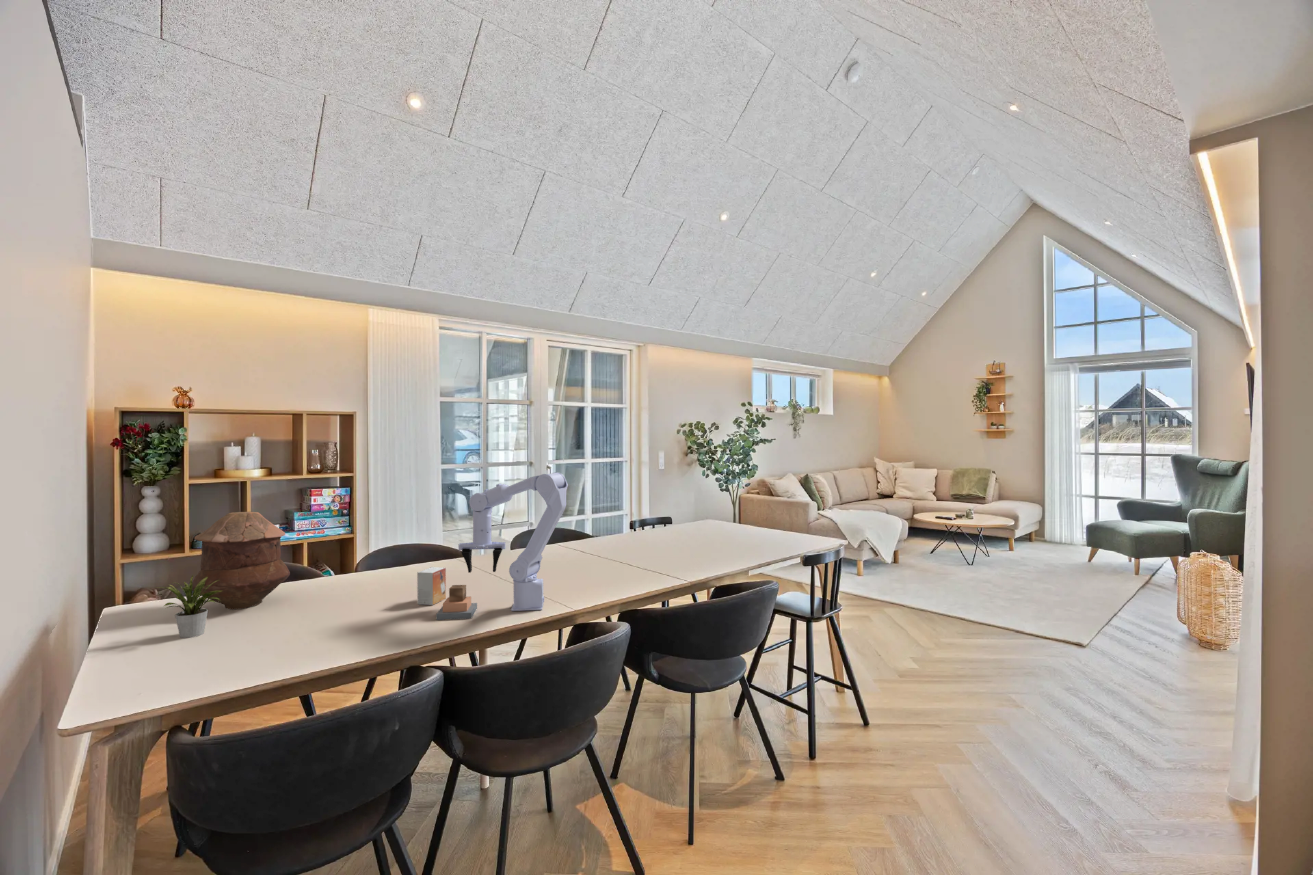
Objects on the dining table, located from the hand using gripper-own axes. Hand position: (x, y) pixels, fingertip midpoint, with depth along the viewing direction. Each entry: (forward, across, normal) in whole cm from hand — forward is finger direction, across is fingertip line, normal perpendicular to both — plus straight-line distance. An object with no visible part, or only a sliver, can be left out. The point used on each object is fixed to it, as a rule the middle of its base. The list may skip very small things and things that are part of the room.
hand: (482, 571), depth 189 cm
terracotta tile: (+9, -6, -10) cm, 14 cm away
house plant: (+11, -75, -20) cm, 78 cm away
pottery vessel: (+11, -77, +10) cm, 78 cm away
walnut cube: (+6, -6, -10) cm, 13 cm away
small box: (+11, -17, +5) cm, 21 cm away
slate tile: (+11, -6, -10) cm, 16 cm away
